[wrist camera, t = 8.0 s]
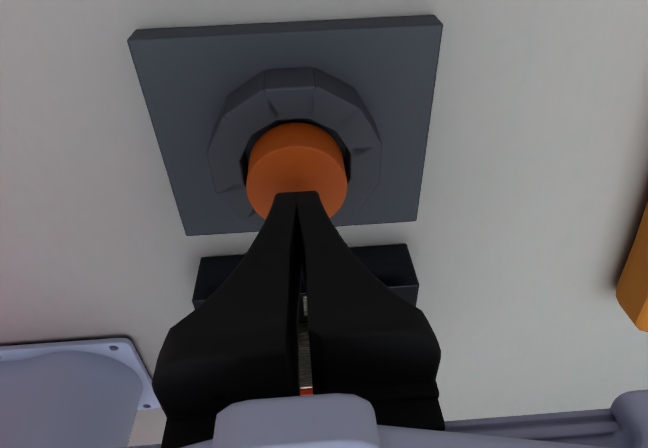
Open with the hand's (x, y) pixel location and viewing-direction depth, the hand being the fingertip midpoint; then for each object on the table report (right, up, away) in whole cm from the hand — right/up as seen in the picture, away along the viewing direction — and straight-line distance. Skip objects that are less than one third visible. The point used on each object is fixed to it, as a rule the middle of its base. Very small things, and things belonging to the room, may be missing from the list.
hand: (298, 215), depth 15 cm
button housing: (0, +4, +4) cm, 6 cm away
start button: (0, +2, +2) cm, 3 cm away
